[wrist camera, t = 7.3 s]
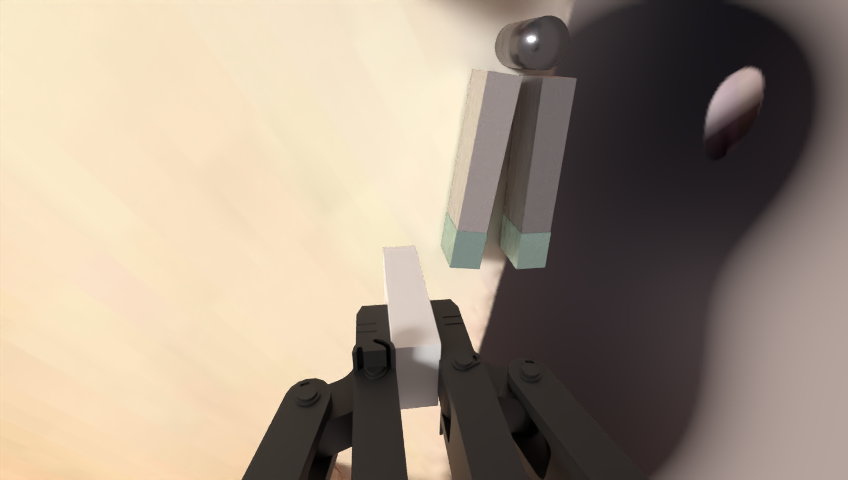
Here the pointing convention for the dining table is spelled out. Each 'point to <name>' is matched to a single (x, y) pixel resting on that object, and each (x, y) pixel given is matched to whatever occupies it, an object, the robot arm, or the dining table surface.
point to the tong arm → (478, 165)
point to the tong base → (534, 136)
